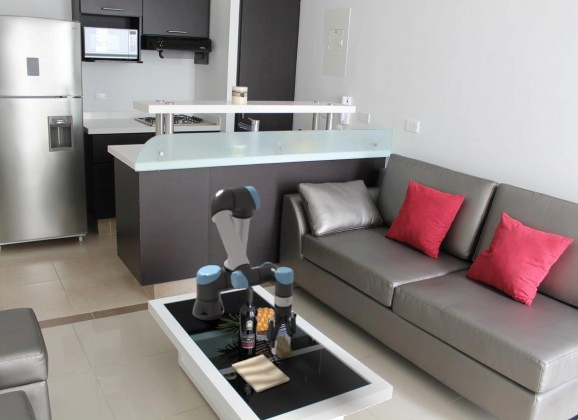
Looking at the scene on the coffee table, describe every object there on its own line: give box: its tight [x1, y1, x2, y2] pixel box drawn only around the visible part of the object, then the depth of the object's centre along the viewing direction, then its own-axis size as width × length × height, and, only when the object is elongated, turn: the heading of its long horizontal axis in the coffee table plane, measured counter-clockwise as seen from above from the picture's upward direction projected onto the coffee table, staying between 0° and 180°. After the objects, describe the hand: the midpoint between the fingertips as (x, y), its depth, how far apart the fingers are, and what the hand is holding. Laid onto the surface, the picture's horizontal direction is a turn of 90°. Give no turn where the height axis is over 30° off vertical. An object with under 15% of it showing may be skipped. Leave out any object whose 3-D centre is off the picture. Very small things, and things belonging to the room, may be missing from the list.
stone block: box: [269, 336, 293, 360], centre depth 237 cm, size 6×12×5 cm, turn 26°
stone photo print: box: [231, 354, 290, 393], centre depth 222 cm, size 20×15×1 cm
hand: (280, 351), depth 238 cm, fingers closed on stone block, 6 cm apart
